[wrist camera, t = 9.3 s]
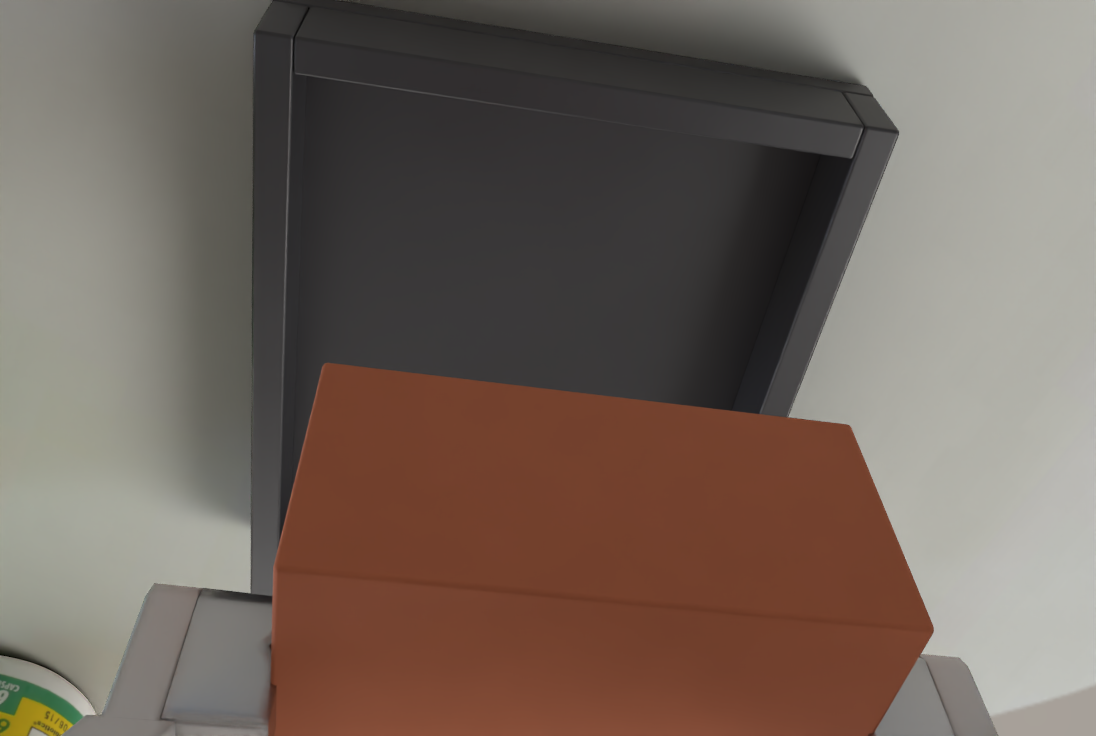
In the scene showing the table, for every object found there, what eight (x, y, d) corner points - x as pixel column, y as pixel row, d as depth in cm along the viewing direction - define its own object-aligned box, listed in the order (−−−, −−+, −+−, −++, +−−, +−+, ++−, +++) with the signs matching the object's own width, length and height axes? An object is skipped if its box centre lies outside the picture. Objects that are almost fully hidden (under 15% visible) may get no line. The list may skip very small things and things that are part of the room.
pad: (851, 423, 12) (937, 630, 10) (732, 691, 15) (776, 903, 12) (323, 360, 11) (271, 567, 9) (306, 655, 14) (264, 872, 12)
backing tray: (867, 85, 18) (901, 132, 17) (688, 577, 26) (700, 642, 24) (277, -11, 17) (252, 30, 15) (267, 535, 24) (249, 600, 23)
